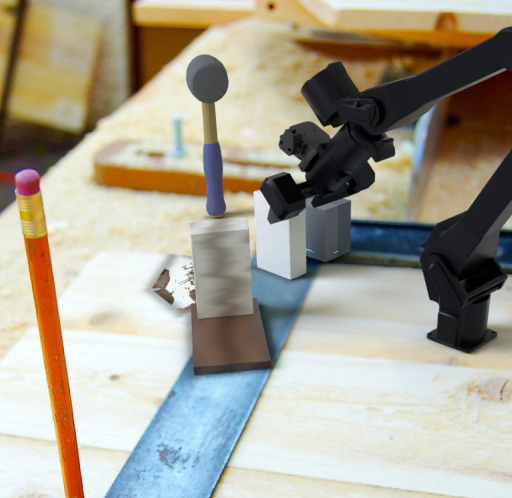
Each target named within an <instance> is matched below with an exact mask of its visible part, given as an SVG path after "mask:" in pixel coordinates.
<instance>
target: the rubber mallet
mask: <svg viewBox="0 0 512 498" xmlns="http://www.w3.org/2000/svg"><path fill="white" fill-rule="evenodd" d="M185 80H186V81H185V82H186V85H187V89H188V90H189V91H190V93H191V95H192V96H193V97H194V98H195V99H196V100H197V101H199V102H201V115H202V130H203V147H202V168H203V173H204V174H203V175H204V178H205V186H206V203H205V210H206V213H207V214H208V216H209V217H210V218H213V219H214V218H221V217H223V216H224V215H225V213H226V211H227V204H226V201H225V197H224V182H223V181H224V180H223V178H224V177H223V176H224V162H223V155H222V148H221V144H220V142H219V137H218V125H217V113H216V103H217V102H219V101H220V100H222V99H223V98H224V96H225V95H226V94H227V92H228V89H229V85H230V84H229V83H230V80H229V76H228V71H227V69H226V67H225V65H224V64H223V62H222V61H220V60H219V59H218V58H217V57H215V56H213V55H211V54H204V53H202V54H199V55H197V56H194V57H193V58H192V59H191V61H190V62H189V63H188V66H187V67H186V71H185Z"/></svg>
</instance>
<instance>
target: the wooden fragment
mask: <svg viewBox="0 0 512 498" xmlns="http://www.w3.org/2000/svg"><path fill="white" fill-rule="evenodd" d="M189 264H190V265H192V266H189V267H188V266H187V265H186V264H185V265H183V266H182V267H181V269H182V271H184V270H185V271H187V273H186V274H185V276H186V277H188V278H186V279H184V280H182V281H180V282H178V283H177V279H175V283H176V284H177V285H179V286H181V285H184V284H186V283H187V282H189V284H190V286H189V285H188V287H184V289H185V290H188V292H187V293H186V294H187V295H188V297H189V298H190V299H191V300H192V301H193V302H194V303H197V301H196V290H195V288H193V289H192V290H191V288H190V287H191V286H195V280H194V269H193V261H191V262H189ZM189 270H190V271H189ZM170 281H171V275H170V269H167V268H163V270H162V271H161V273H160V274H159V276H158V277H157V278H156V280H155V282H154V284H153V285H152V289H156V290H154V292H155V293H156V294H157V295H158V296H159V297H161V298H162V299H163V300H164V301H165V302H167V303H168V304H169V305H170V306H173V304H174V303H175V296H173V293H175V291H174V290H172V291H171V292H170V291H169V290H168V289H167V288H168V285H169V283H170ZM184 296H185V295H183V296H182V298H184ZM176 310H177V311H178V312H179V313H181V314H182V315H183V314H187V313H191V304H189V305H186V306H185V307H178V308H176Z"/></svg>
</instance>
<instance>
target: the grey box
mask: <svg viewBox="0 0 512 498" xmlns="http://www.w3.org/2000/svg"><path fill="white" fill-rule="evenodd" d="M313 198H314V197H312V198H309V199H306V208H305V218H306V248H307V249H310V250H312V251H314V253H312V252H309V251H306V257H309V258H311V259H314V260H317V261H320V262H323V263H327V262H329V261H332V260H334V259H336V258H337V259H338V258H340V257H341V256H344V255H346V254H348V253H351V241H352V240H351V238H352V237H351V236H352V235H351V234H352V231H351V230H352V200H351V199H347V198H343V199H340V200H337V201H334V202H331V203H328V204H325V205H322V206H319V207H316V208H313V206H312V204H311V201H312V200H313ZM336 251H338V252H336ZM334 252H336V253H334Z"/></svg>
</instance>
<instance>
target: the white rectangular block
mask: <svg viewBox="0 0 512 498" xmlns="http://www.w3.org/2000/svg"><path fill="white" fill-rule="evenodd" d="M253 208H254V209H253V210H254V230H255V249H256V250H255V251H256V252H255V253H256V267H257V268H258V269H260V270H263V271H266V272H269V273H271V274H274V275H277V276H279V277H282V278H284V279H288V280H290V281H292V280H294V279H296V278H299V277H301V276H303V275H305V274H307V256H306V218H305V209H304V210H303V211H302V212H300V213H299V215H298V216H296V217H293V218H290V219H288V220H284V221H281V222H277V223H274V224H270V223H269V222H268V220H267V217H268V213H269V208H270V206H269V204H268V203H267V201H266V199H265V198H264V196H263V194H262V193H261V191H260V190H259V189H257V190H254V191H253Z"/></svg>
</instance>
